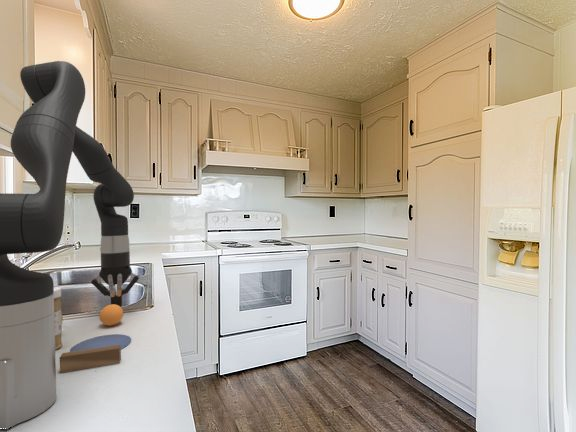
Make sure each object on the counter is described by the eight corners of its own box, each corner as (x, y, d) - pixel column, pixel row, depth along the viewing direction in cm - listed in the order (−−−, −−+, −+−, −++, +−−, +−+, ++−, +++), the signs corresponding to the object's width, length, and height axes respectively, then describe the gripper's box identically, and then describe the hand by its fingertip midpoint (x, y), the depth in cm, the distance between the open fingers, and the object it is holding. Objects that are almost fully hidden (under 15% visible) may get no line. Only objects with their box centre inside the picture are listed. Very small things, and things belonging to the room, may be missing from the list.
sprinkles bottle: (44, 345, 72) (42, 287, 71) (66, 343, 72) (65, 286, 72) (32, 354, 67) (30, 292, 67) (55, 352, 68) (54, 290, 68)
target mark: (108, 359, 64) (108, 358, 64) (55, 356, 66) (55, 355, 66) (141, 335, 76) (141, 335, 76) (96, 334, 78) (96, 333, 78)
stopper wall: (63, 368, 61) (62, 352, 61) (121, 358, 65) (120, 344, 64) (60, 373, 59) (59, 357, 59) (119, 363, 63) (119, 348, 63)
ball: (114, 329, 81) (114, 308, 81) (95, 328, 82) (94, 307, 82) (127, 321, 87) (127, 301, 87) (109, 321, 87) (108, 301, 87)
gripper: (140, 247, 99) (142, 302, 99) (92, 250, 94) (93, 307, 94) (138, 250, 92) (140, 309, 92) (86, 253, 87) (87, 315, 87)
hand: (116, 308), depth 93 cm, fingers closed
